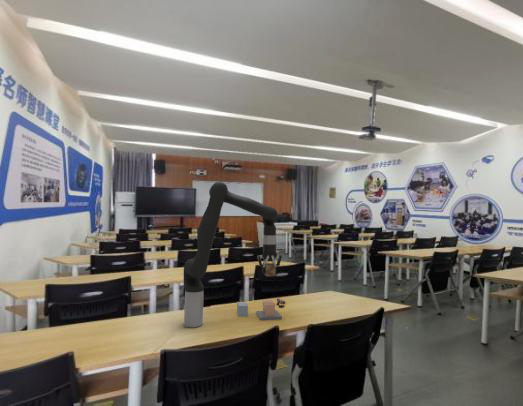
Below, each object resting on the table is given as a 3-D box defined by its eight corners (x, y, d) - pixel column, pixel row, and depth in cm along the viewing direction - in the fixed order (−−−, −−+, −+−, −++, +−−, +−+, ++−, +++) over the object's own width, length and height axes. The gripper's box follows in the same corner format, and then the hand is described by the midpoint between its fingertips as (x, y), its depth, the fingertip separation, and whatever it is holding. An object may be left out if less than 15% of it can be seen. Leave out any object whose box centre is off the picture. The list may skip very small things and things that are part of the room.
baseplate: (260, 320, 177) (260, 306, 178) (256, 313, 189) (256, 300, 189) (281, 319, 180) (282, 305, 180) (276, 312, 191) (276, 299, 192)
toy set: (271, 309, 200) (272, 301, 200) (266, 304, 211) (266, 296, 211) (290, 308, 203) (290, 300, 203) (284, 303, 214) (284, 296, 214)
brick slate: (238, 316, 183) (238, 305, 183) (236, 312, 191) (237, 302, 191) (247, 316, 184) (247, 305, 184) (245, 312, 192) (245, 301, 192)
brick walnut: (266, 276, 181) (266, 265, 181) (263, 273, 188) (263, 263, 189) (275, 276, 182) (275, 265, 182) (272, 273, 189) (272, 263, 190)
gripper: (280, 242, 191) (280, 272, 190) (255, 242, 188) (255, 272, 187) (283, 243, 183) (283, 274, 183) (258, 244, 180) (257, 275, 180)
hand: (269, 273), depth 185 cm, fingers closed on brick walnut, 5 cm apart
